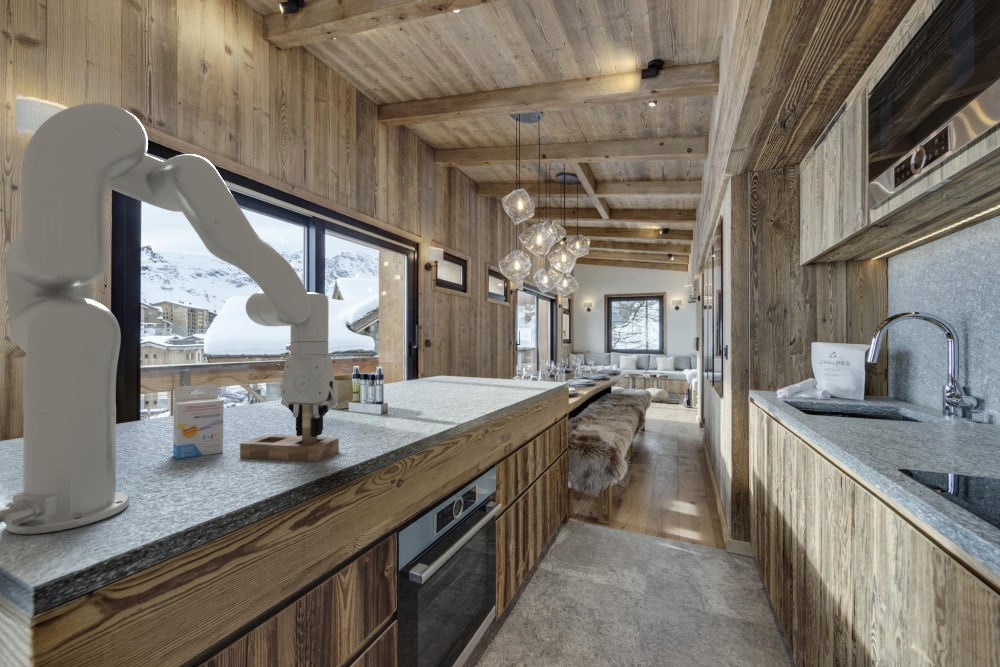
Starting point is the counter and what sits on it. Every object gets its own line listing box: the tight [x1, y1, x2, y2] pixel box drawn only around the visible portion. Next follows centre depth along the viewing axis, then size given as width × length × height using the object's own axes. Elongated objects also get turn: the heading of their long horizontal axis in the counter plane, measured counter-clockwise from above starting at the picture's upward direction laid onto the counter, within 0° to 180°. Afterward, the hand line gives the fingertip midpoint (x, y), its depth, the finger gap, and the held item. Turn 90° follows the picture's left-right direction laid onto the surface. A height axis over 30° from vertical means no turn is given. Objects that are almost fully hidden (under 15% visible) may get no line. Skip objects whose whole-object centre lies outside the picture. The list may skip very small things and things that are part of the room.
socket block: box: [239, 434, 340, 463], centre depth 95 cm, size 8×18×3 cm, turn 81°
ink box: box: [172, 383, 224, 460], centre depth 95 cm, size 8×5×15 cm, turn 134°
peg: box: [302, 404, 318, 445], centre depth 94 cm, size 3×3×12 cm
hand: (309, 434), depth 94 cm, fingers closed on peg, 2 cm apart
